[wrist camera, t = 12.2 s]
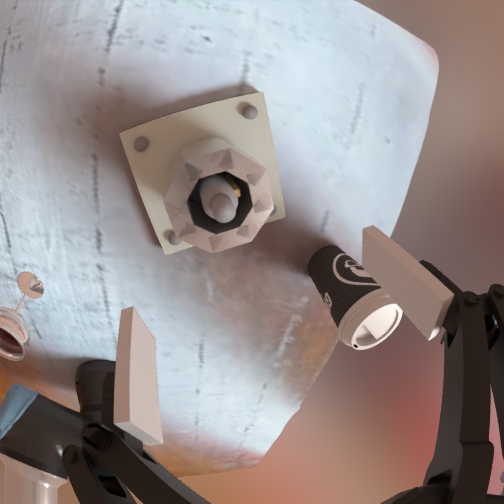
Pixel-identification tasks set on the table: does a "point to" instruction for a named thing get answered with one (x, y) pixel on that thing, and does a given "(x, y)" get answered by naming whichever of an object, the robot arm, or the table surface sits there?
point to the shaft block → (191, 131)
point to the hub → (192, 212)
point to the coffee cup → (353, 299)
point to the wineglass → (18, 320)
